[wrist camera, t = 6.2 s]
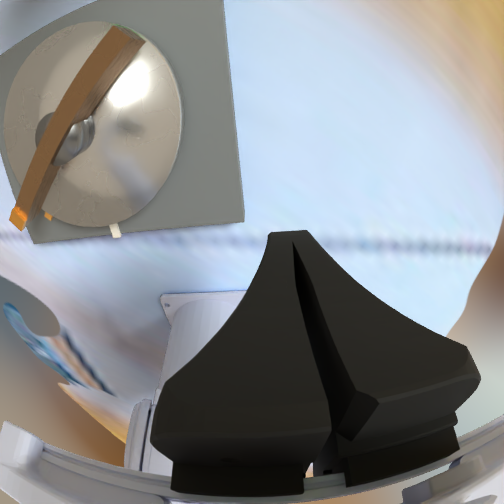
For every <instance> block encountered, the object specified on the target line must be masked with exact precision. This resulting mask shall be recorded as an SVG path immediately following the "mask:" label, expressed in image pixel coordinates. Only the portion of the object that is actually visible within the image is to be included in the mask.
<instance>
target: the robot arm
mask: <svg viewBox="0 0 504 504" xmlns="http://www.w3.org/2000/svg"><path fill="white" fill-rule="evenodd" d="M160 301H161V304H162V306H163V309H164V311H165V314H166V316H167V319H168V321H169V323H170V326H171V331H170V336H169V340H168V344H167V349H166V353H165V358H164V362H163V367H162V371H161V376H160V381H159V386H158V389H156V392H155V397H154V402H153V405H152V400H148V399H143V400H142V402H139V403H138V404H136V405H135V407H134V410H133V413H132V416H131V420H130V425H129V429H128V434H127V440H126V447H125V457H124V468H123V467H119V466H114V465H111V464H107V463H103V462H99V461H96V460H93V459H89V458H86V457H83V456H80V455H77V454H74V453H71V452H68V451H65V450H63V449H60V448H57V447H55V446H52V445H50V444H47V443H45V442H43V441H42V440H41V439H40V438H38V437H37V436H35V435H34V434H32V433H30V432H29V431H27V430H25V429H23V428H21V427H19V426H16V425H14V424H12V423H10V422H8V421H4V423H3V426H2V430H1V433H0V489H1V490H3V491H4V492H5V493H7V494H8V495H9V496H11V497H12V498H13V499H15V500H16V501H18V502H19V503H20V504H288V503H299V502H309V501H317V500H323V499H330V498H336V497H341V496H347V495H352V494H356V493H361V492H365V491H369V490H373V489H377V488H381V487H385V486H388V485H392V484H395V483H398V482H401V481H404V480H407V479H410V478H413V477H416V476H419V475H422V474H424V473H427V472H430V471H432V470H435V469H437V468H439V467H442V466H444V465H446V464H449V463H451V462H452V463H451V465H450V466H449V469H448V470H447V471H445V472H443V473H440V474H438V475H436V476H434V477H431V478H429V479H427V480H425V481H423V482H420V483H418V484H416V485H413V486H411V487H408V488H405V489H403V491H402V496H403V503H401V504H504V414H503V415H502V416H500V417H498V418H496V419H494V420H493V421H491V422H489V423H487V424H485V425H483V426H481V427H479V428H477V429H476V430H473V431H471V432H469V433H467V434H465V435H462V436H460V437H458V438H457V437H456V433H455V430H454V427H453V426H455V425H456V424H457V423H458V420H457V416H456V413H455V411H456V410H457V409H458V408H459V407H460V406H461V405H462V404H463V403H464V402H465V401H466V400H467V399H468V398H469V397H470V396H471V395H472V394H473V393H474V391H475V390H476V389H477V387H478V385H479V383H480V381H481V376H480V373H479V371H478V369H477V367H476V365H475V362H474V360H473V358H472V356H471V354H470V352H469V350H468V349H467V347H466V346H464V345H462V344H460V343H458V342H456V341H453V340H451V339H449V338H447V337H444V336H442V335H440V334H437V333H435V332H433V331H431V330H429V329H428V328H426V327H424V326H422V325H420V324H418V323H416V322H414V321H413V320H411V319H409V318H408V317H406V316H404V315H403V314H401V313H399V312H398V311H396V310H395V309H393V308H392V307H390V306H389V305H387V304H386V303H384V302H383V301H381V300H380V299H378V298H377V297H376V296H375V295H373V294H372V293H371V292H369V291H368V290H367V289H365V288H364V287H363V286H362V285H360V284H359V283H358V282H357V281H356V280H354V279H353V278H352V277H351V276H350V275H349V274H348V273H347V272H346V271H345V270H344V269H343V268H342V267H341V266H340V265H339V264H338V263H337V262H336V261H335V260H334V259H333V258H332V257H331V256H330V255H329V254H328V253H327V252H326V251H325V250H324V249H323V248H322V247H321V245H320V244H319V243H318V242H317V241H316V240H315V239H314V237H313V236H312V235H311V234H310V233H309V232H308V231H307V230H299V231H283V232H271V233H270V234H269V235H268V240H267V245H266V249H265V252H264V255H263V258H262V260H261V263H260V265H259V268H258V270H257V272H256V274H255V276H254V278H253V280H252V282H251V284H250V286H249V288H248V290H246V291H228V292H208V293H184V294H163V295H162V296H161V298H160ZM167 303H168V304H167ZM311 463H313V477H310V478H305V477H306V474H305V473H306V471H307V469H308V468H309V466H310V464H311Z"/></svg>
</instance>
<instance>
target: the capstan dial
mask: <svg viewBox="0 0 504 504" xmlns="http://www.w3.org/2000/svg"><path fill="white" fill-rule="evenodd" d="M184 129H185V106H184V97H183V93H182V89H181V85H180V82H179V79H178V77H177V74H176V71H175V69H174V68H173V66H172V64H171V62H170V61H169V59H168V57H167V56H166V55H165V54H164V52H163V51H162V50H161V49H160V47H159V46H158V45H156V44H155V43H154V42H153V41H152V40H151V39H150V38H148V37H147V36H145V35H144V34H142V33H140V32H139V31H136V30H134V29H132V28H129V27H127V26H123V25H119V24H115V23H110V22H103V21H90V22H83V23H78V24H75V25H71V26H68V27H66V28H64V29H62V30H60V31H57V32H56V33H54V34H53V35H51V36H50V37H48V38H47V39H45V40H44V41H43V42H42V43H41V44H39V45H38V46H37V47H36V48H35V49H34V50H33V51H32V52H31V54H30V55H29V56H28V57H27V58H26V60H25V61H24V63H23V64H22V66H21V67H20V69H19V71H18V73H17V74H16V76H15V78H14V81H13V83H12V85H11V88H10V91H9V94H8V98H7V102H6V107H5V113H4V139H5V146H6V151H7V155H8V159H9V162H10V165H11V167H12V170H13V172H14V174H15V176H16V178H17V180H18V182H19V183H20V185H21V190H20V192H19V195H18V198H17V201H16V205H15V207H14V208H13V209H12V211H11V215H10V219H9V220H10V221H11V222H12V223H13V224H14V225H15V226H16V227H17V228H18V229H19V230H20V231H22V230H23V229H24V228H25V227H26V226H27V225H28V224H29V223H30V222H31V221H32V220H33V219H34V218H35V217H36V216H37V215H38V214H39V213H40V210H41V209H43V210H44V211H45V212H47V213H48V214H50V215H52V216H53V217H55V218H57V219H59V220H61V221H63V222H66V223H70V224H73V225H77V226H83V227H100V226H107V225H111V224H115V223H118V222H120V221H123V220H125V219H127V218H129V217H131V216H132V215H134V214H136V213H137V212H138V211H140V210H141V209H142V208H144V207H145V206H146V205H147V204H148V203H149V202H150V201H151V200H152V199H153V198H154V196H155V195H156V194H157V192H158V191H159V190H160V188H161V187H162V186H163V184H164V183H165V181H166V180H167V178H168V176H169V175H170V173H171V171H172V169H173V168H174V165H175V163H176V160H177V158H178V156H179V153H180V149H181V145H182V142H183V135H184Z"/></svg>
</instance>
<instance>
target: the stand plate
mask: <svg viewBox="0 0 504 504" xmlns="http://www.w3.org/2000/svg"><path fill="white" fill-rule="evenodd" d="M90 21H103V22H110V23H115V24H119V25H123V26H127V27H129V28H132V29H134V30H136V31H139V32H140V33H142V34H144V35H145V36H147V37H148V38H150V39H151V40H152V41H153V42H154V43H155V44H156V45H158V46H159V47H160V49H161V50H162V51H163V52H164V54H165V55H166V56H167V57H168V59H169V61H170V62H171V64H172V66H173V68H174V69H175V71H176V74H177V77H178V79H179V82H180V85H181V89H182V93H183V97H184V106H185V129H184V135H183V142H182V145H181V149H180V153H179V156H178V158H177V160H176V163H175V165H174V168H173V169H172V171H171V173H170V175H169V176H168V178H167V180H166V181H165V183H164V184H163V186H162V187H161V188H160V190H159V191H158V192H157V194H156V195H155V196H154V198H153V199H152V200H151V201H150V202H149V203H148V204H147V205H146V206H145V207H144V208H142V209H141V210H140V211H138V212H137V213H136V214H134V215H132V216H131V217H129V218H127V219H125V220H123V221H120V222H118V223H115V224H111V225H107V226H100V227H83V226H77V225H73V224H70V223H66V222H63V221H61V220H59V219H57V218H55V217H53V216H52V215H50V214H48V213H47V212H45V211H44V210H43V209H41V210H40V213H39V214H38V215H37V216H36V217H35V218H34V219H33V220H32V221H31V222H30V223H29V224H28V225H27V226H26V227H27V229H28V232H29V234H30V236H31V239H32V241H33V243H34V244H38V243H45V242H53V241H61V240H69V239H77V238H85V237H93V236H102V235H111V234H112V235H113V238H119V237H121V233H129V232H139V231H149V230H159V229H169V228H180V227H191V226H203V225H215V224H227V223H240V222H244V217H245V209H244V200H243V190H242V181H241V171H240V161H239V152H238V142H237V132H236V122H235V112H234V103H233V93H232V83H231V73H230V63H229V53H228V43H227V33H226V23H225V12H224V2H223V0H97V1H95V2H92V3H90V4H88V5H86V6H83V7H81V8H79V9H77V10H75V11H73V12H71V13H69V14H67V15H65V16H63V17H61V18H59V19H57V20H55V21H53V22H52V23H50V24H48V25H46V26H45V27H43V28H41V29H39V30H38V31H36V32H34V33H33V34H31V35H30V36H28V37H27V38H25V39H23V40H22V41H20V42H19V43H17V44H16V45H14V46H13V47H12V48H10V49H9V50H7V51H6V52H5V53H3V54H2V55H1V56H0V152H1V156H2V160H3V163H4V167H5V170H6V173H7V176H8V179H9V182H10V185H11V188H12V191H13V194H14V197H15V200H16V201H17V198H18V195H19V192H20V190H21V185H20V183H19V182H18V180H17V178H16V176H15V174H14V172H13V170H12V167H11V165H10V162H9V159H8V155H7V151H6V146H5V139H4V113H5V107H6V102H7V98H8V94H9V91H10V88H11V85H12V83H13V81H14V78H15V76H16V74H17V73H18V71H19V69H20V67H21V66H22V64H23V63H24V61H25V60H26V58H27V57H28V56H29V55H30V54H31V52H32V51H33V50H34V49H35V48H36V47H37V46H38V45H39V44H41V43H42V42H43V41H44V40H45V39H47V38H48V37H50V36H51V35H53V34H54V33H56V32H57V31H60V30H62V29H64V28H66V27H68V26H71V25H75V24H78V23H83V22H90Z"/></svg>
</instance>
